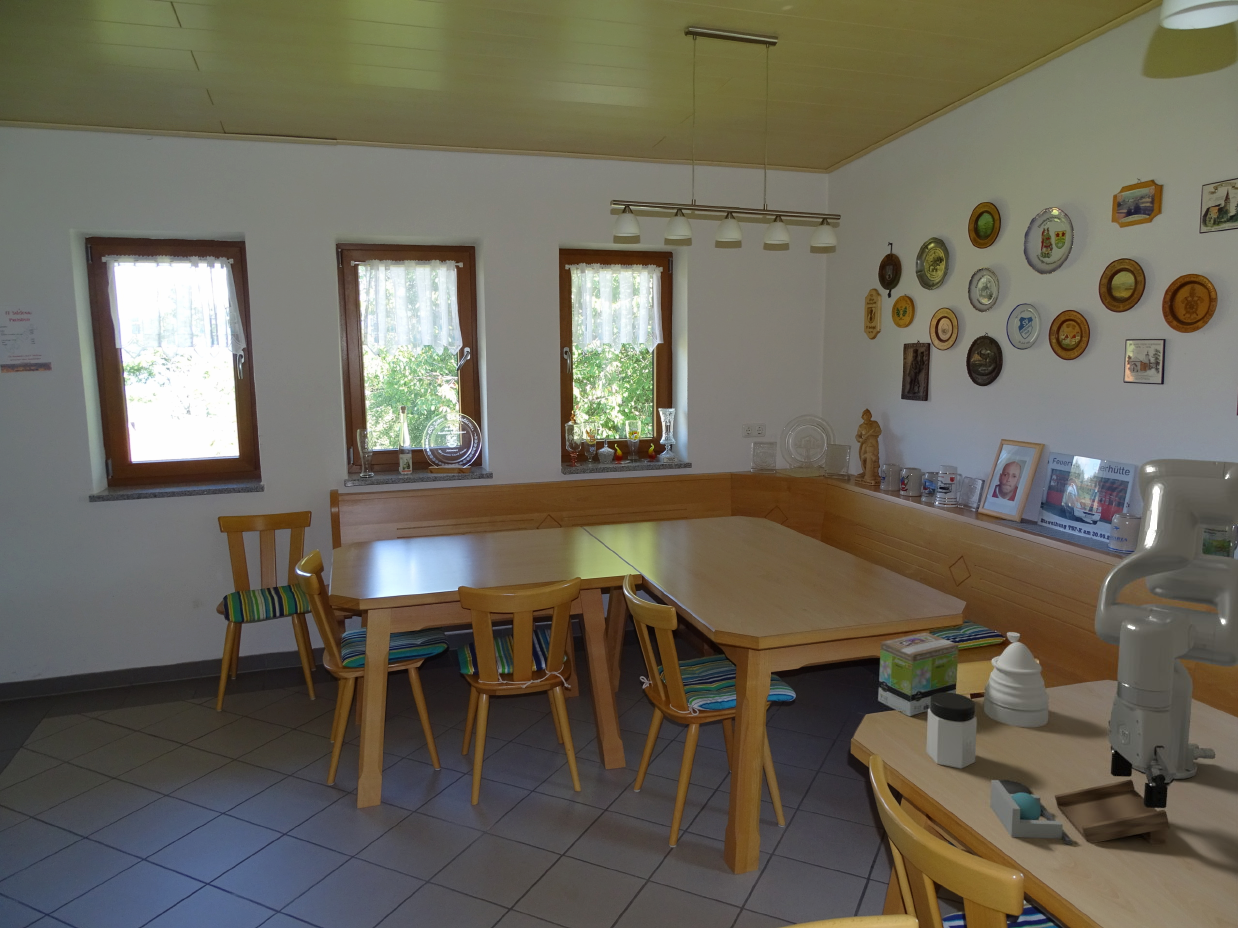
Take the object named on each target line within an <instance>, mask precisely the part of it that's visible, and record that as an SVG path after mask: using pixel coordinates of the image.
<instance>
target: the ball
mask: <svg viewBox="0 0 1238 928" xmlns="http://www.w3.org/2000/svg"><path fill="white" fill-rule="evenodd" d="M1011 797H1012V799H1013V800H1014V801H1015V803H1016V804H1017V805H1018V806H1019V808H1020V820H1040V817H1041V815H1042V813H1041V808H1040V805H1039V803H1038V801H1037V800H1036V799H1035V798H1034V797H1033V796H1031V795H1029V794H1027V793H1016V794H1014V795H1013V796H1011Z"/></svg>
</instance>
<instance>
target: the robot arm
mask: <svg viewBox="0 0 1238 928" xmlns="http://www.w3.org/2000/svg"><path fill="white" fill-rule="evenodd" d="M1137 477H1138V478H1137V480H1138V489H1139V492H1140V497H1141V500H1142V503H1143V505H1142V512H1141V518H1140V523H1139V531H1138V537H1137V545H1136V548H1135V550H1134V551H1133V552H1132V553H1130V554H1129V555H1127V556H1125V557H1124V558H1123V559H1121V560H1119V562H1117V564H1116V565H1114V566H1113V567H1112V568H1111V569H1110V570H1109V571H1108V573H1107V574H1106V576H1105V577H1104V579H1103V580H1102V583H1101V585H1100V589H1099V594H1098V600H1097V605H1096V609H1095V610H1096V611H1095V616H1094V630H1095V633H1096V636H1097V637H1098V638H1099V639H1100V640H1101V641H1102V642H1104V643H1106V644H1109V645H1114V646H1118V647H1119V649H1118V665H1117V680H1116V681H1117V683H1116V693H1115V696H1114V699H1113V701H1112V702H1113V703H1112V705H1111V712H1110V717H1109V718H1110V719H1109V720H1108V727H1109V730H1108V742H1109V744H1110V751H1111V759H1110V760H1111V761H1110V764H1111V765H1110V774H1111V776H1113V777H1127V778H1129V777H1132V774H1133V769H1135V770H1136V771H1139V772H1142V773H1145V777H1146V780H1147V782H1144V790H1143V798H1144V805H1145V806H1146V807H1147V808H1155V809H1165V808H1166V807H1167V805H1168V804H1167V801H1168V789H1169V787H1170V786H1171V784H1172V783H1174V779H1175V780H1180V779H1181V780H1184V779H1189V778H1191V777H1194V776H1195V775H1196V774H1197V771H1198V765H1197V764H1196V762H1195V761H1197V760H1198V759H1203V760H1213V759H1214V760H1215V759H1216V752H1215V749H1213V748H1210V747H1209V748H1208V747H1201V748H1200V746H1199V744H1198V743H1189V741H1190V728H1191V727H1190V726H1191V713H1192V700H1193V699H1192V698H1193V689H1194V687H1193V679H1192V676H1191V675H1190V673H1189V671H1188V669H1187V668H1186V666H1184V664H1183V663H1182V662H1181V660H1186V661H1187V660H1188V661H1191V662H1197V663H1202V664H1208V665H1214V666H1220V667H1230V668H1231V667H1235V666H1238V559H1236V558H1233V557H1229V556H1221V555H1214V554H1206V553H1203V546H1204V545H1203V544H1204V537H1205V536H1204V535H1205V531H1204V527H1203V526H1204V525H1205V526H1218V527H1227V528H1228V527H1234V526H1237V525H1238V462H1233V461H1222V460H1219V461H1218V460H1202V459H1201V460H1199V459H1198V460H1197V459H1184V458H1183V459H1181V458H1159V459H1152V460H1148V461H1146V462H1144V463H1142V464H1141V466H1140V467H1139V470H1138V476H1137ZM1143 578H1145V585H1146V589H1147V590H1148V592H1149V593H1150V594H1151V595H1153V596H1154V597H1155V596H1156V597H1158V598H1161V599H1168V600H1173V601H1178V602H1185V603H1190V604H1191V603H1192V604H1198V605H1205V606H1210V607H1212V608H1213V609H1215V610H1216V611H1217V612H1214V611H1213V612H1211V611H1205V610H1199V609H1191V608H1188V607H1181V606H1174V605H1169V604H1162V603H1161V604H1160V603H1159V604H1158V603H1147V604H1142V605H1137V604H1132V603H1131V604H1130V603H1125V602H1118V599H1119V596H1120V595H1121V592H1122V591H1123V589H1124V588H1126V586H1128V585H1130V584H1132V583H1133V582H1135V581H1137V580H1140V579H1143Z"/></svg>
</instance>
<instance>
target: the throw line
mask: <svg viewBox="0 0 1238 928" xmlns="http://www.w3.org/2000/svg"><path fill="white" fill-rule="evenodd" d="M1040 808H1041V815H1042V816H1043V817H1044V818H1045V821H1057V820H1056V819H1055V818H1054V817H1053V815H1052V814H1051V813H1050V811H1048V809H1047V808H1046V807H1045V806H1044V804H1043V803H1042V802H1041V801H1040ZM1061 840H1062V841H1063V842H1064V843H1065V845H1072V843H1073V842H1072V841H1073V840H1072V838H1071V837H1070V836H1069V834H1068V833H1067V832H1066V831H1065V830H1064V829H1063V828H1062V839H1061Z"/></svg>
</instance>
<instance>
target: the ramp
mask: <svg viewBox="0 0 1238 928" xmlns="http://www.w3.org/2000/svg"><path fill="white" fill-rule="evenodd" d="M1054 798H1055V803H1056V807H1057V808H1058V811H1060V812H1061V813H1062V815H1063V816H1064V817H1065V818H1066V819H1067V820H1068V822H1070V824H1071V825H1072V826H1073V827H1074V828H1075V830H1076V831H1077V832H1078V834H1080V836H1081V837H1082V838H1083V840H1085V841H1086V842H1088V843H1090V842H1091V843H1099V842H1104V841H1109V840H1114V839H1120V838H1125V837H1129V836H1133V835H1134V836H1135V835H1140V834H1141V836H1143V838H1144V839H1146V840H1147V842H1148V843H1149V844H1166V843H1167V829H1169V828H1170V823H1169V818H1168V815H1167V811H1166V810H1165V809H1161V810H1157V808H1147V807H1146V806H1145V805H1144V796H1142V795H1141V794H1140V793H1139V792H1138V791H1137V790H1136V789H1135V785H1134V781H1133V780H1132V779H1126V780H1122V781H1121V780H1120V781H1118V782H1117V781H1116V782H1113V783H1108V784H1103V785H1097V786H1093V787H1088V788H1084V789H1083V788H1082V789H1079V790H1077V789H1076V790H1073V791H1069V792H1063V793H1059V794H1055V795H1054Z"/></svg>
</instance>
